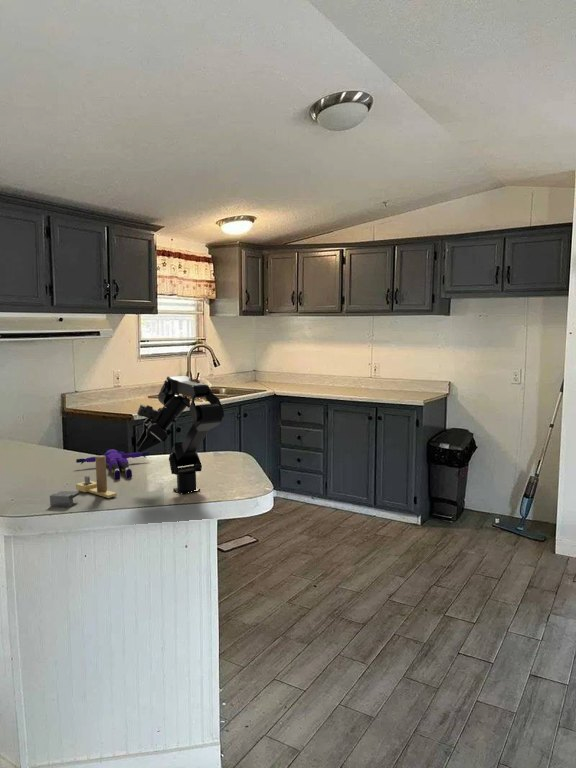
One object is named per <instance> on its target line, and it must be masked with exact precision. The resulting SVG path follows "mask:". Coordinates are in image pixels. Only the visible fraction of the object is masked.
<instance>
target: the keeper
mask: <svg viewBox="0 0 576 768" xmlns="http://www.w3.org/2000/svg"><path fill="white" fill-rule="evenodd" d="M80 494H81V491H78V490H76V491H74V490H72V491H71V490H69V491H68V490H61V491H59V492H57V493H52V494H51V495H49V504H50V506H49V507H56V508H59V507H60V508H71V507H72V506H73V505H74V500H73V499H75V498H76V497H78V496H79V495H80Z"/></svg>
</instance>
